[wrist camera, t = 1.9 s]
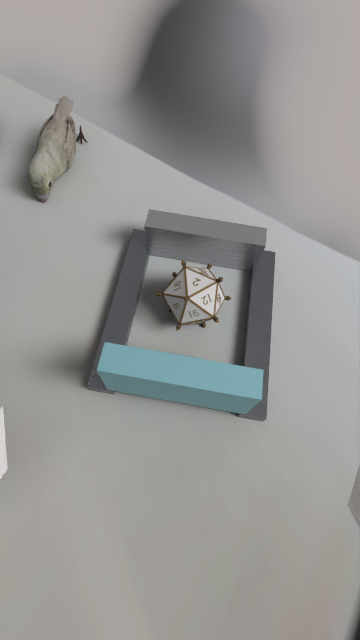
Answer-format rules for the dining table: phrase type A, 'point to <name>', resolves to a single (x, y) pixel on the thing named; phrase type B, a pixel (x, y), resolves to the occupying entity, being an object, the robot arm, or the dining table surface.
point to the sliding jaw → (180, 378)
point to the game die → (194, 295)
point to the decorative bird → (54, 149)
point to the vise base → (202, 247)
